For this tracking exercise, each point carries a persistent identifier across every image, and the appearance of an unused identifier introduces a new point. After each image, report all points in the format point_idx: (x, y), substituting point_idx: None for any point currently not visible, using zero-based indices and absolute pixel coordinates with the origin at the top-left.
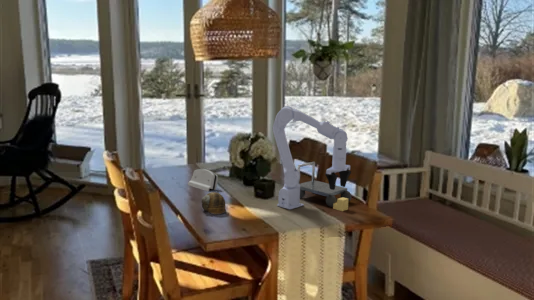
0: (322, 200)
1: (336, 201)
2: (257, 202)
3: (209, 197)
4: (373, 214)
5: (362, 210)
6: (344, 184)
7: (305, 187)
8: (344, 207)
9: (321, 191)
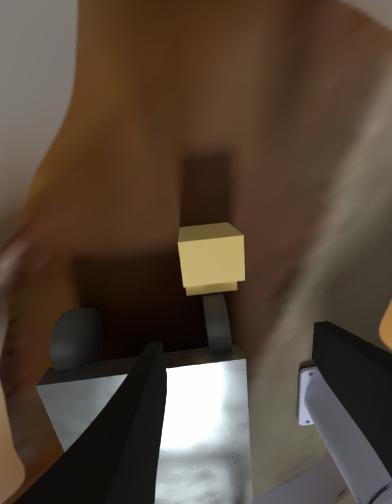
0: None
1: (206, 298)
2: None
3: None
4: (118, 59)
5: (121, 165)
6: (156, 360)
7: (249, 485)
8: (212, 227)
9: (241, 407)
